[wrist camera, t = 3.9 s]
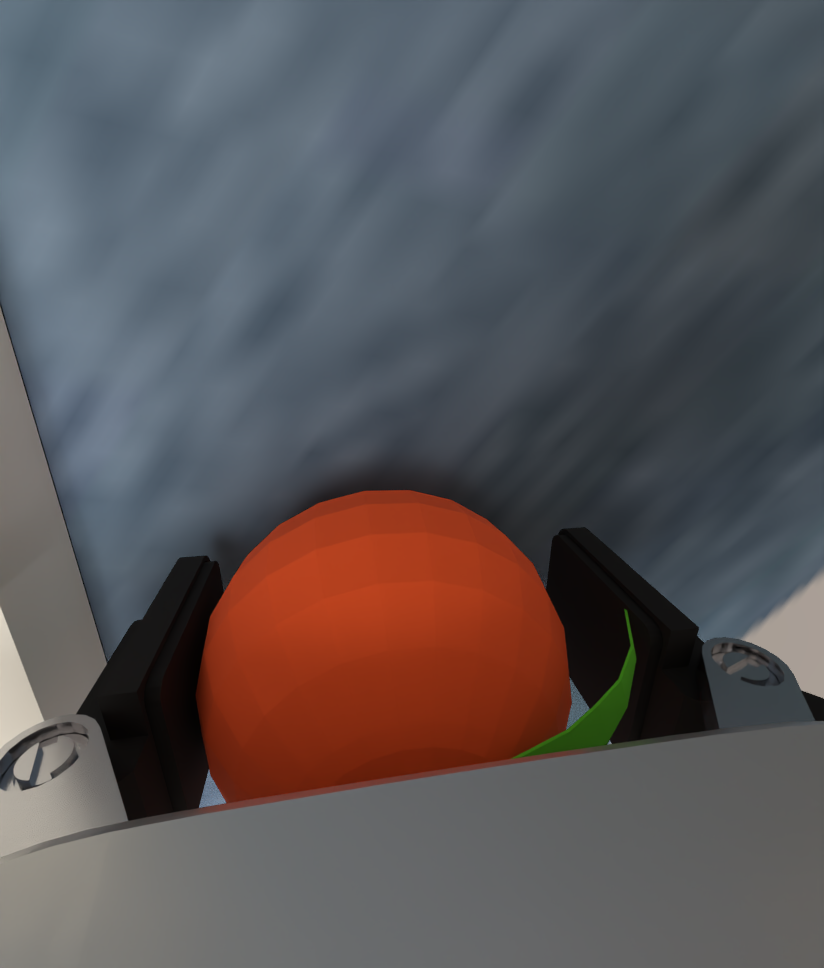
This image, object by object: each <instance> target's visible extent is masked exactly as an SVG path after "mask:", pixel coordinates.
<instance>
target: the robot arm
mask: <svg viewBox="0 0 824 968" xmlns="http://www.w3.org/2000/svg"><path fill="white" fill-rule="evenodd" d="M546 591H547V594H548V596H549V598H550V600H551V602H552V604H553V606H554V608H555V610H556V612H557V614H558V616H559V618H560V621H561V623H562V625H563V627H564V631H565V640H566V649H567V658H568V668H569V677H570V678H571V680H572V681H573V683H574V684H575V686H576V688H577V689H578V691H579V692H580V694H581V695H582V697H583V699H584V700H585V702H586V703H587V705H588V706H589V708H590V709H591V708H592V707H593V706H594V705H595V704H596V703H597V702H598V701H599V700H600V699H601V698H602V697H603V695H604V694H605V693H606V692H607V691H608V690H609V689H610V688H611V687H612V686H613V685H614V683H615V682H616V681H617V680H618V679H619V676H620V673H621V671H622V668H623V665H624V663H625V660H626V657H627V655H628V652H629V649H630V646H631V644H630V638H629V633H628V627H627V622H626V616H625V611H624V609H625V610H627V613H628V618H629V623H630V628H631V633H632V638H633V644H634V649H635V654H636V664H635V670H634V675H633V680H632V686H631V691H630V696H629V702H628V707H627V709H626V711H625V713H624V714H623V716H622V718H621V720H620V722H619V724H618V725H617V727H616V729H615V731H614V733H613V735H612V736H611V738H610V741H611V743H612V744H609V745H602V746H595V747H589V748H582V749H575V750H568V751H561V752H554V753H547V754H541V755H534V756H527V757H521V758H514V759H508V760H501V761H494V762H488V763H481V764H474V765H468V766H461V767H455V768H448V769H441V770H435V771H428V772H422V773H415V774H409V775H402V776H396V777H389V778H383V779H376V780H370V781H364V782H357V783H351V784H345V785H338V786H332V787H326V788H319V789H313V790H307V791H300V792H294V793H288V794H281V795H275V796H269V797H262V798H256V799H250V800H244V801H238V802H232V803H226V804H220V805H214V806H208V807H203V808H199V804H200V800H201V797H202V793H203V789H204V785H205V781H206V778H207V774H208V770H209V765H208V761H207V756H206V752H205V747H204V742H203V738H202V733H201V727H200V721H199V714H198V708H197V702H196V696H195V695H196V689H197V683H198V677H199V671H200V665H201V659H202V654H203V649H204V644H205V639H206V634H207V629H208V624H209V619H210V616H211V614H212V612H213V611H214V609H215V607H216V606H217V604H218V602H219V600H220V599H221V597H222V595H223V593H224V592H223V586H222V580H221V574H220V568H219V564H218V562H217V561H213V562H210V559H209V557H208V556H195V557H182V558H179V559H178V560H177V562H176V564H175V565H174V567H173V569H172V570H171V572H170V574H169V576H168V577H167V579H166V581H165V582H164V584H163V586H162V587H161V589H160V591H159V592H158V594H157V596H156V597H155V599H154V601H153V602H152V604H151V606H150V607H149V609H148V611H147V612H146V614H145V616H144V618H143V619H142V620H137V621H135V622H134V623H133V624H132V625H131V626H130V628H129V629H128V631H127V632H126V634H125V636H124V637H123V639H122V641H121V642H120V644H119V645H118V647H117V649H116V650H115V652H114V653H113V655H112V657H111V658H110V660H109V661H108V663H107V665H106V666H105V668H104V670H103V671H102V673H101V674H100V676H99V678H98V679H97V681H96V682H95V684H94V686H93V687H92V689H91V691H90V692H89V694H88V695H87V697H86V699H85V700H84V702H83V703H82V705H81V707H80V708H79V710H78V712H77V713H76V714H70V715H64V716H59V717H55V718H52V719H49V720H46V721H43V722H41V723H38V724H36V725H34V726H32V727H31V728H29V729H27V730H25V731H23V732H21V733H20V734H18V735H17V736H16V737H14V738H13V739H11V740H10V741H9V742H7V743H6V744H5V745H4V746H3V747H2V748H1V749H0V968H824V699H823V698H821V697H818V696H815V695H812V694H809V693H806V692H804V691H801V689H800V687H799V685H798V683H797V681H796V678H795V676H794V674H793V673H792V671H791V670H790V669H789V667H788V666H787V665H786V664H785V663H784V662H783V661H782V660H780V659H779V658H778V657H777V656H775V655H774V654H772V653H770V652H769V651H767V650H765V649H763V648H761V647H759V646H757V645H754V644H752V643H749V642H746V641H742V640H739V639H733V638H726V637H723V638H713V639H710V640H708V641H706V642H705V643H704V642H703V641H702V640H701V639H699V638H698V637H697V633H698V630H699V627H698V626H697V625H695V624H694V623H693V622H692V621H691V620H690V619H689V618H687V617H686V616H685V615H684V614H683V613H682V612H681V611H680V610H678V609H677V608H676V607H675V606H674V605H673V604H672V603H671V602H669V601H668V600H667V599H666V598H665V597H664V596H663V595H661V594H660V593H659V592H658V591H657V590H656V589H655V588H654V587H652V586H651V585H650V584H649V583H648V582H647V581H646V580H644V579H643V578H642V577H641V576H640V575H639V574H638V573H637V572H635V571H634V570H633V569H632V568H631V567H630V566H629V565H628V564H626V563H625V562H624V561H623V560H622V559H621V558H620V557H618V556H617V555H616V554H615V553H614V552H613V551H612V550H611V549H609V548H608V547H607V546H606V545H605V544H604V543H603V542H601V541H600V540H599V539H598V538H597V537H596V536H595V535H594V534H592V533H591V532H590V531H589V530H588V529H586V528H585V527H584V528H569V529H562V530H561V531H560V532H559V535H555V536H554V537H553V540H552V547H551V555H550V563H549V571H548V579H547V587H546Z"/></svg>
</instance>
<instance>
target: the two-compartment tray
mask: <svg viewBox="0 0 824 968" xmlns="http://www.w3.org/2000/svg"><path fill="white" fill-rule="evenodd" d="M106 665H107V662H106V659H105V655H104V652H103V649H102V645H101V642H100V639H99V635H98V632H97V629H96V625H95V622H94V619H93V615H92V612H91V609H90V605H89V602H88V599H87V595H86V592H85V589H84V585H83V582H82V578H81V575H80V572H79V568H78V565H77V562H76V558H75V555H74V552H73V548H72V545H71V542H70V538H69V535H68V532H67V528H66V525H65V522H64V518H63V515H62V512H61V508H60V505H59V502H58V498H57V495H56V491H55V488H54V485H53V481H52V478H51V475H50V471H49V468H48V465H47V461H46V458H45V455H44V451H43V448H42V445H41V441H40V438H39V435H38V431H37V428H36V425H35V421H34V418H33V414H32V411H31V408H30V404H29V401H28V398H27V394H26V391H25V388H24V384H23V381H22V378H21V374H20V371H19V368H18V364H17V361H16V358H15V354H14V351H13V348H12V344H11V341H10V338H9V334H8V331H7V327H6V324H5V321H4V317H3V314H2V311H1V307H0V749H1V748H2V747H3V746H4V745H5V744H6V743H7V742H9V741H10V740H11V739H13V738H14V737H16V736H17V735H18V734H20V733H21V732H23V731H25V730H27V729H29V728H31V727H32V726H34V725H36V724H38V723H41V722H43V721H46V720H49V719H52V718H55V717H59V716H64V715H70V714H76V713H77V712H78V710H79V708H80V707H81V705H82V703H83V702H84V700H85V699H86V697H87V695H88V694H89V692H90V691H91V689H92V687H93V686H94V684H95V682H96V681H97V679H98V678H99V676H100V674H101V673H102V671H103V670H104V668H105V666H106Z"/></svg>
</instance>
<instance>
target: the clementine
mask: <svg viewBox="0 0 824 968" xmlns="http://www.w3.org/2000/svg"><path fill="white" fill-rule="evenodd" d="M624 611H625V616H626V622H627V627H628V633H629V638H630V644H631V646H630V649H629V652H628V655H627V657H626V660H625V663H624V665H623V668H622V671H621V673H620V676H619V679H618V680H617V681H616V682H615V683H614V685H613V686H612V687H611V688H610V689H609V690H608V691H607V692H606V693H605V694H604V695H603V697H602V698H601V699H600V700H599V701H598V702H597V703H596V704H595V705H594V706H593V707H592V708H591V709H590V710H588V711H587V712H586V713H585V714H584V715H583V716H582V717H581V718H580V719H579V720H577V721H576V722H575V723H574V724H573V725H572V726H571V727H570V728H569V729H567V730H566V726H567V722H568V717H569V713H570V708H571V704H572V700H571V689H570V678H569V668H568V658H567V649H566V640H565V631H564V627H563V625H562V623H561V621H560V618H559V616H558V614H557V612H556V610H555V608H554V606H553V604H552V602H551V600H550V598H549V596H548V594H547V591H546V589H545V587H544V585H543V583H542V581H541V579H540V577H539V575H538V573H537V571H536V569H535V567H534V565H533V563H532V562H531V561H530V560H529V559H528V558H527V557H526V556H525V555H524V554H523V553H522V552H521V551H520V550H519V549H518V548H517V547H516V546H515V545H514V544H513V543H512V542H511V541H510V540H509V539H508V537H507V536H506V535H504V534H503V533H502V532H501V531H500V530H499V529H497V528H496V527H495V526H494V525H493V524H492V523H490V522H489V521H488V520H487V519H485V518H484V517H482V516H480V515H478V514H476V513H475V512H473V511H471V510H469V509H467V508H465V507H464V506H462V505H460V504H458V503H456V502H454V501H453V500H450V499H446V498H441V497H437V496H433V495H429V494H425V493H420V492H416V491H412V490H381V491H362V492H358V493H354V494H350V495H346V496H343V497H339V498H335V499H331V500H328V501H324V502H320V503H318V504H316V505H314V506H312V507H310V508H309V509H307V510H305V511H303V512H301V513H300V514H298V515H296V516H294V517H292V518H290V519H289V520H287V521H285V522H283V523H281V524H280V525H278V526H277V527H276V528H275V529H274V530H273V531H272V532H271V533H270V534H269V535H268V536H267V537H266V538H265V539H264V540H263V541H261V542H260V543H259V544H258V545H257V546H256V547H255V548H254V549H253V550H252V551H251V552H250V553H249V554H248V555H247V556H246V558H245V559H244V561H243V562H242V564H241V565H240V567H239V569H238V570H237V572H236V573H235V575H234V576H233V578H232V579H231V581H230V583H229V585H228V586H227V588H226V590H225V592H224V593H223V595H222V597H221V599H220V600H219V602H218V604H217V606H216V607H215V609H214V611H213V612H212V614H211V616H210V619H209V624H208V629H207V634H206V639H205V644H204V649H203V654H202V659H201V665H200V671H199V677H198V683H197V689H196V695H195V696H196V702H197V708H198V714H199V721H200V727H201V733H202V738H203V742H204V747H205V752H206V756H207V761H208V765H209V770H210V775H211V777H212V778H213V780H214V782H215V784H216V785H217V787H218V789H219V790H220V792H221V794H222V796H223V797H224V799H225V801H226V802H227V803H232V802H238V801H244V800H250V799H256V798H262V797H269V796H275V795H281V794H288V793H294V792H300V791H307V790H313V789H319V788H326V787H332V786H338V785H345V784H351V783H357V782H364V781H370V780H376V779H383V778H389V777H396V776H402V775H409V774H415V773H422V772H428V771H435V770H441V769H448V768H455V767H461V766H468V765H474V764H481V763H488V762H494V761H501V760H508V759H514V758H521V757H527V756H534V755H541V754H547V753H554V752H561V751H568V750H575V749H582V748H589V747H595V746H602V745H607V743H608V742H609V740H610V738H611V736H612V735H613V733H614V731H615V729H616V727H617V725H618V724H619V722H620V720H621V718H622V716H623V714H624V713H625V711H626V709H627V707H628V702H629V696H630V691H631V686H632V680H633V675H634V670H635V664H636V654H635V649H634V644H633V638H632V633H631V628H630V623H629V618H628V613H627V610H625V609H624Z"/></svg>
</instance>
